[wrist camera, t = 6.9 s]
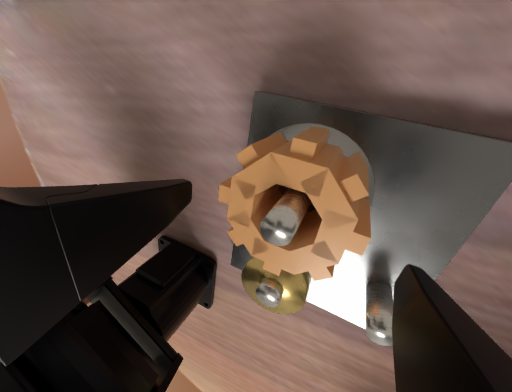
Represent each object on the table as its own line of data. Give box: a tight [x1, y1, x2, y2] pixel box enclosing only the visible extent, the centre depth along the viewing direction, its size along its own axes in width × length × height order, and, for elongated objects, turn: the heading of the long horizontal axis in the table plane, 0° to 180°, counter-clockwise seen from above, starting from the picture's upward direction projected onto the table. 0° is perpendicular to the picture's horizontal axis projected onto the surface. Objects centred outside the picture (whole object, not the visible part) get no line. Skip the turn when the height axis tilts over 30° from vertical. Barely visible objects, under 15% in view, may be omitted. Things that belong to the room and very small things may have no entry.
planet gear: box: [218, 126, 371, 281], centre depth 11 cm, size 7×7×4 cm
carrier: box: [231, 91, 512, 346], centre depth 12 cm, size 13×12×6 cm
